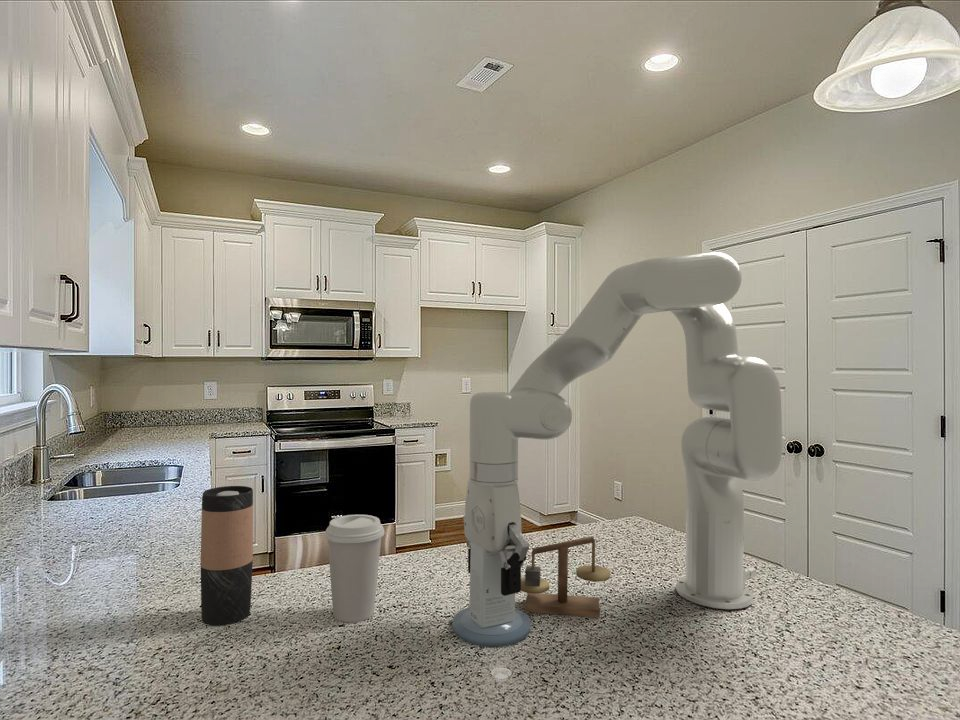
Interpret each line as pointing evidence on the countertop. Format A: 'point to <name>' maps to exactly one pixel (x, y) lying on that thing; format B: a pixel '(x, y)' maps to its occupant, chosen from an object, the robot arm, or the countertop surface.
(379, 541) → the coffee cup
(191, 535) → the countertop surface
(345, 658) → the countertop surface
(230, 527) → the travel mug
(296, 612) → the countertop surface
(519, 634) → the dish
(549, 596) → the balance
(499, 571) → the skincare box
